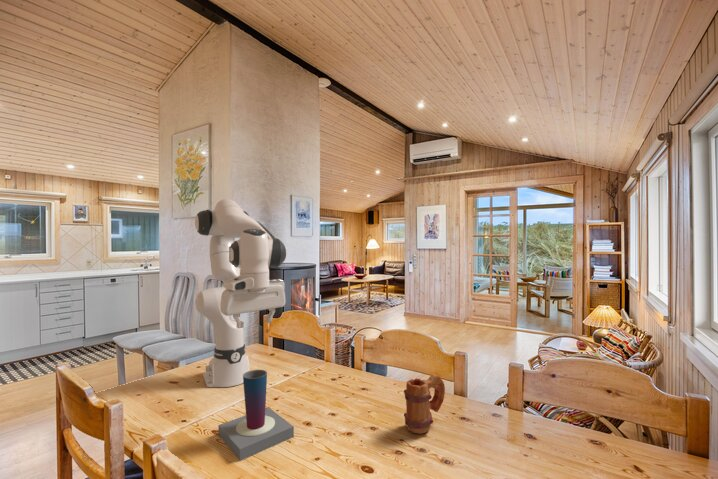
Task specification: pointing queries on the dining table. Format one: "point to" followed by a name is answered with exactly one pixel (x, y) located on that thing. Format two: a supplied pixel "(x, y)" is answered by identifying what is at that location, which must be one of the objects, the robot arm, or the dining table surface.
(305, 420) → the dining table surface
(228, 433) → the plinth
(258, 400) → the cup
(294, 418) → the dining table surface
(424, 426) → the mug
